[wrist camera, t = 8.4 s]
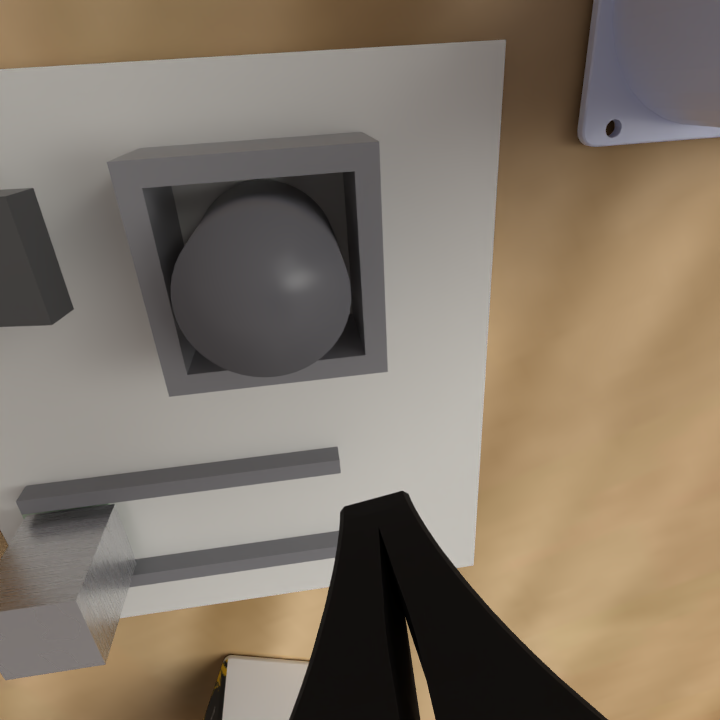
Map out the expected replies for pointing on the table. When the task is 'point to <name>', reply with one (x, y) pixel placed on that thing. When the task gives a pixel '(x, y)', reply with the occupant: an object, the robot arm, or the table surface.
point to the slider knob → (63, 590)
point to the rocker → (28, 264)
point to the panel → (215, 384)
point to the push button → (262, 281)
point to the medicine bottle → (256, 688)
